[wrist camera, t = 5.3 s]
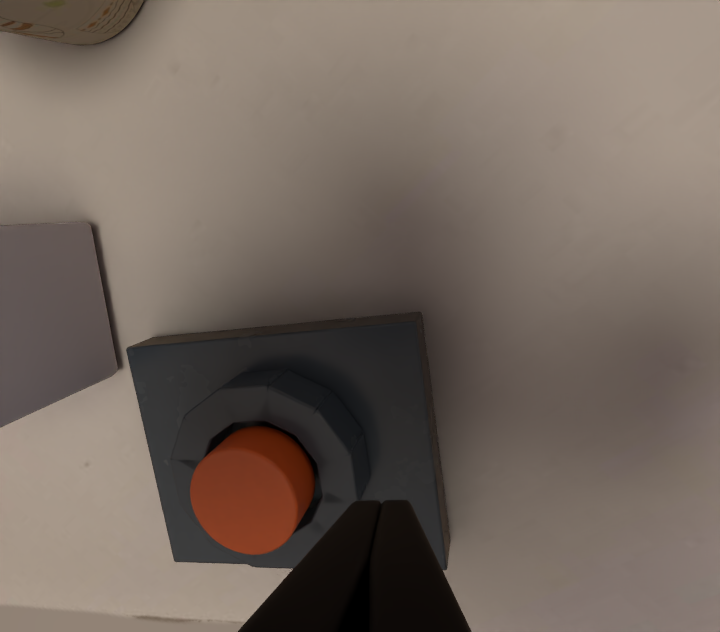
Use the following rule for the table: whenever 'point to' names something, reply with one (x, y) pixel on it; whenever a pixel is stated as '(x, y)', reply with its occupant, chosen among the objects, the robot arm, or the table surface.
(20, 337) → the soap bottle
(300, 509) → the button
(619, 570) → the table surface
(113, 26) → the mug
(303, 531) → the box
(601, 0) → the table surface
